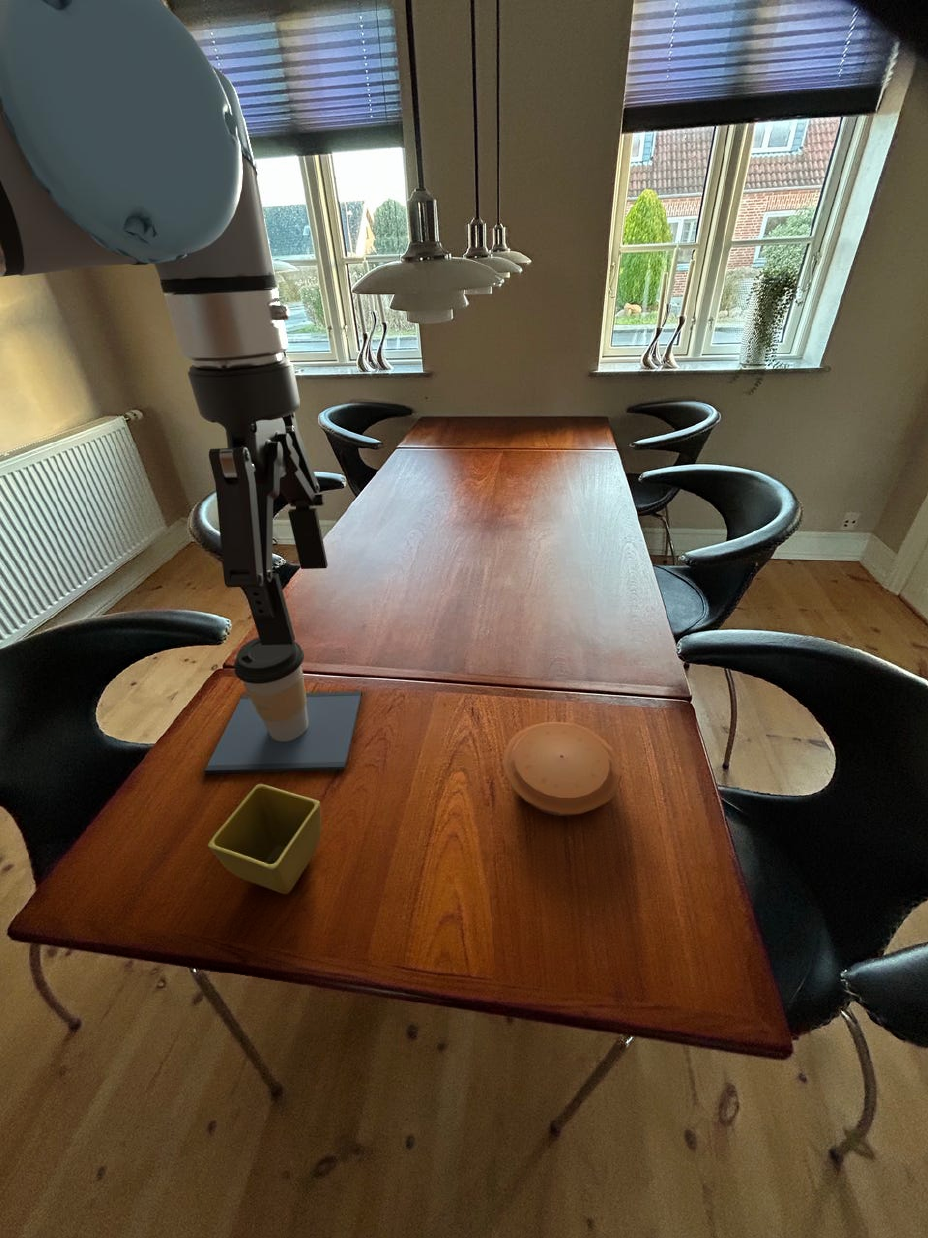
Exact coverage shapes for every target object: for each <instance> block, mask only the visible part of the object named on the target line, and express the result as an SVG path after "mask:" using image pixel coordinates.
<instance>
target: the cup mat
mask: <svg viewBox="0 0 928 1238" xmlns="http://www.w3.org/2000/svg"><path fill="white" fill-rule="evenodd" d="M305 693H306V709H307V717H308V728H307V730H306V731H305V732H304V733H303V734H302V735H301V736H299V737H298V738H296V739H293V740H291V741H287V742H280V741H277V740H274V739H273V738H272V737H271V736H270V734H269V732H268V730H267V728H266V726H265V724H264V722H263V720H262V718H261V717H260V716H259V715H258V713H257V711H256V709H255V707H254V705H253V703H252V701H251V699H250V697H249V695H248V694H242V695H241V696H240V699H239V701H238V703H237V706H236V707H235V709H234V710H233V713H232V715H231V717H230V719H229V721H228V723H227V725H226V727H225V729H224V730H223V733H222V735H221V737H220V738H219V741H218V743H217V745H216V747H215V749H214V750H213V753H212V755H211V757H210V759H209V761H208V763H207V764H206V766H205V769H204V773H205V774H232V773H233V774H234V773H239V774H240V773H271V772H309V771H311V772H313V771H341V770H342V771H344V770H346V765H347V762H348V757H349V753H350V748H351V744H352V741H353V735H354V730H355V727H356V723H357V718H358V714H359V709H360V704H361V701H362V696H363V692H362V691H360V690H359V691H327V692H326V691H323V692H321V691H320V692H305Z"/></svg>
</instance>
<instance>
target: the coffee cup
mask: <svg viewBox="0 0 928 1238" xmlns="http://www.w3.org/2000/svg"><path fill="white" fill-rule="evenodd" d="M304 659H305V653H304V651H303V649H302V647H301V645H300V644H299V643H298V642H296V640H295V641H294V643H293V644H290V645H261V642H260V638H259V636H257V637H256V638H253V639H251V640H249V641H247V642H246V643H245V644H243V645H242V646H241V648H239V649H238V651H237V653H236V658H235V660H234V663H233V668H234V669H233V671H234V674H235V676H236V677H237V679H239V680H240V681H242V682H243V686H244V689H245V691H246V693H247V695H249V697H250V699H251V701H252V703H253V705H254V707H255V709H256V711H257V713H258V715H259V716H260V717H261V718H262V720H263V722H264V724H265V726H266V728H267V730H268V732H269V734H270V736H271V737H272V738H273V739H274V740H277V741H280V742H287V741H291V740H293V739H296V738H298V737H299V736H301V735H302V734H303V733H304V732H305V731H306V730H307V728H308V717H307V709H306V693H307V692H306V685H305V679H304V671H303V668H302V664H303V662H304Z"/></svg>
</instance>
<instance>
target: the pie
mask: <svg viewBox="0 0 928 1238" xmlns="http://www.w3.org/2000/svg"><path fill="white" fill-rule="evenodd" d="M501 766H502V770H503V773H504V777H505V779H506V781H507V782H508V784H509V786H510V788H511V789H512V790H513V792H514V793H515V794H516V795H518V796H519V797H520V798H521V799H522V800H523V801H525V802H526V803H527V804H530V805H532V806H533V807H534V808H536V809H537V810H539V811H541V812H544V813H545V814H549V815H554V816H556V817H557V816H558V817H569V816H575V815H582V814H585V813H587V812H591V811H593V810H595V809H597V808H599V807H601V806H604V805H605V804H607V803H609V802H610V801H611V800H612V798H613V796H614V795H615V794H616V793H617V791H618V789H619V787H620V783H621V780H622V777H623V775H622V766H621V762H620V759H619V758H618V756H617V754H616V752H615V750H614V749H613V748H612V747H611V746H610V745H609V744H608V742H607V741H606V740H605V739H604V738H602V737H601V736H599V735H597V734H596V733H595V732H594V731H592V730H590V729H588V728H586V727H584V726H582V725H579V724H577V723H571V722H564V721H563V722H562V721H549V722H547V721H545V722H543V723H537V724H533V725H529V726H528V727H526V728H523V729H521V730H519V731H518V732H517V733H516V734H515V735H514V736H513V737H511V739H510V740H509V741H508V743H507V746H506V748H505V750H504V753H503V759H502V763H501Z"/></svg>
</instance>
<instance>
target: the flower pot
mask: <svg viewBox="0 0 928 1238" xmlns="http://www.w3.org/2000/svg"><path fill="white" fill-rule="evenodd" d="M322 828H323V827H322V814H321V802H320V801H319V800H317V799H313V798H311V797H307V796H305V795H303V796H302V795H300V794H297V793H293V792H290V791H286V790H284V789H280V788H276V787H273V786H270V785H267V784H264V783H258V784H257V785H255V786H254V787H253V788H252V790H250V792H249V793H248V794H247V795H246V797H245V798H244V799H243V800H242V802H241V803H240V804H239V805H238V806H237V807H236V809H234V811H233V812H232V814H231V815H230V816H229V817H228V818H227V820H226V821H225V822H224V823H223V825H222V826H221V827H220V828H219V829H218V830H217V831H216V833H215V834H214V835H213V837H212V838H211V839H210V841H209V843H208V844H207V847H208V848H209V849H210V850H211V852H212V853H213V855H214V856H215V857H216V858H217V860H219V862H220V863H221V864H222V866H223V867H224V868H225V869H226V870H227V872H229V873H230V874H232V875H234V876H235V877H237V878H239V879H242V880H244V881H246V882H248V883H249V882H250V883H252V884H255V885H257V886H260V887H263V888H266V889H268V890H271V891H274V892H277V893H278V894H281V895H288V894H289V893H290V892H291V891H292V890H293V888H294V887H295V885H296V883H297V882H298V881H299V879H300V877H301V876H302V874H303V872H304V871H305V870H306V868H307V866H308V865H309V863H310V862H311V860H312V859H313V857H314V855H315V854H316V851H317V849H318V847H319V844H320V840H321V837H322Z"/></svg>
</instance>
